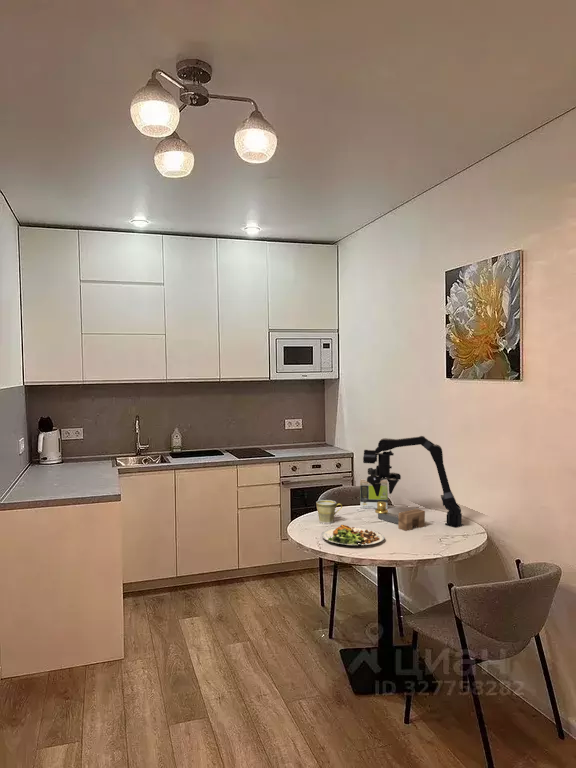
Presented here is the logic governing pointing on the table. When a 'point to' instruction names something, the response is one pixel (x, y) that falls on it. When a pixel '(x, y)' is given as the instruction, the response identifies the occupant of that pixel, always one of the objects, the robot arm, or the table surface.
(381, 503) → the grey sliding bolt
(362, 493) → the tea box
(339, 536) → the plate of food
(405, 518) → the block
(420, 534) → the table surface
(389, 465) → the robot arm
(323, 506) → the ceramic cup
